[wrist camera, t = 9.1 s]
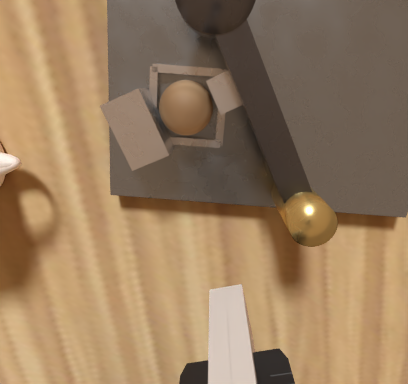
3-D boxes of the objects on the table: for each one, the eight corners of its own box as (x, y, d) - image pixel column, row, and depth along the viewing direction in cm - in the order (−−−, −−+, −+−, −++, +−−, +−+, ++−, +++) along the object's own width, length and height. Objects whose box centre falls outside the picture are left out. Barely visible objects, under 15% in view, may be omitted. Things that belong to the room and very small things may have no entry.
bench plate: (393, 209, 30) (435, 237, 25) (117, 188, 31) (94, 211, 25) (478, -107, 23) (564, -170, 17) (113, -132, 23) (81, -204, 18)
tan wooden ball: (211, 133, 27) (210, 141, 23) (162, 129, 27) (154, 136, 23) (214, 82, 26) (215, 81, 22) (164, 78, 26) (155, 76, 22)
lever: (266, 218, 28) (282, 259, 21) (167, -10, 23) (148, -50, 16) (322, 196, 27) (357, 231, 20) (232, -46, 22) (241, -103, 15)
